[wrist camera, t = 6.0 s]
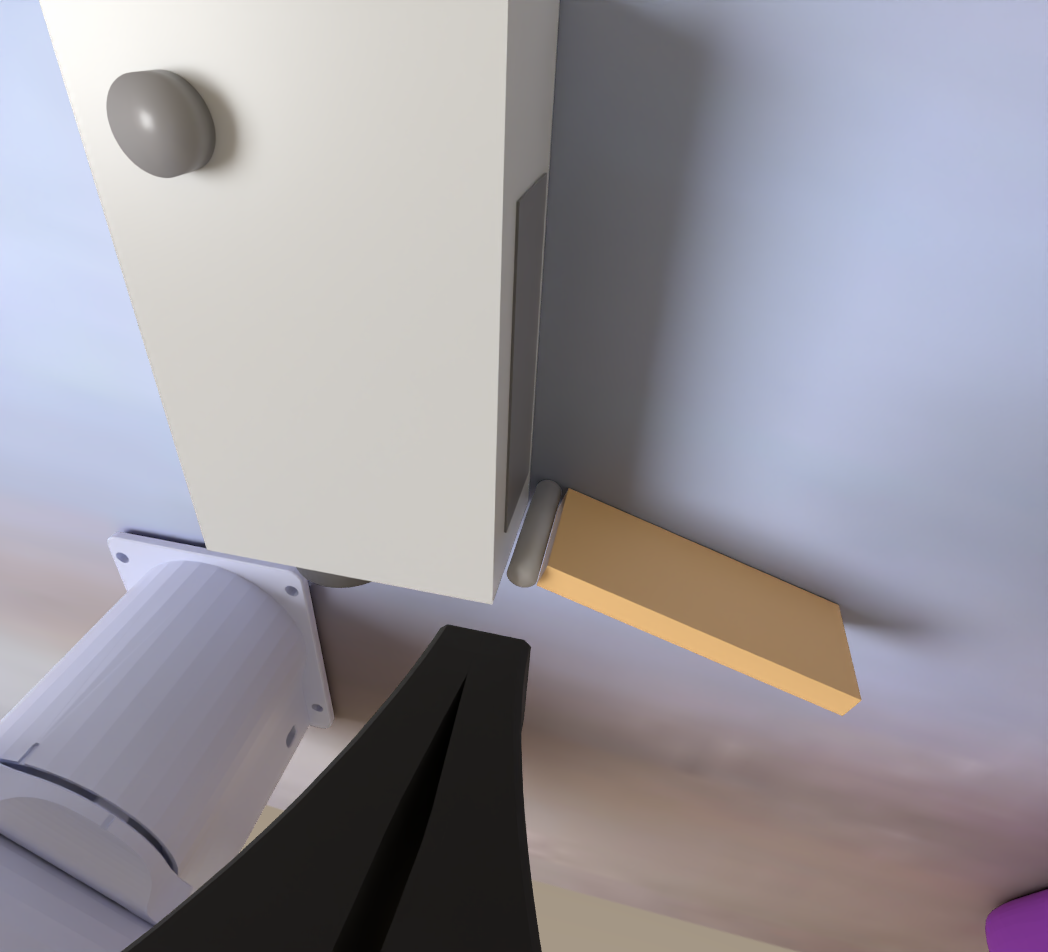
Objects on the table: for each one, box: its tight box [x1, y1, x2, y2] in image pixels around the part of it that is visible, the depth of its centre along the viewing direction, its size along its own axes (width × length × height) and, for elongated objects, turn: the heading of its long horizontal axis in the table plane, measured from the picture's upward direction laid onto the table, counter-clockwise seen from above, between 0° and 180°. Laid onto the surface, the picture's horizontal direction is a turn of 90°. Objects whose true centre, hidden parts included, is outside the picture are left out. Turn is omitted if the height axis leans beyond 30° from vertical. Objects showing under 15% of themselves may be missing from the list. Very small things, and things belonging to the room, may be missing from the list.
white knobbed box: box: [39, 0, 560, 604], centre depth 16 cm, size 14×8×5 cm, turn 177°
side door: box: [507, 480, 861, 716], centre depth 19 cm, size 10×1×4 cm, turn 69°
